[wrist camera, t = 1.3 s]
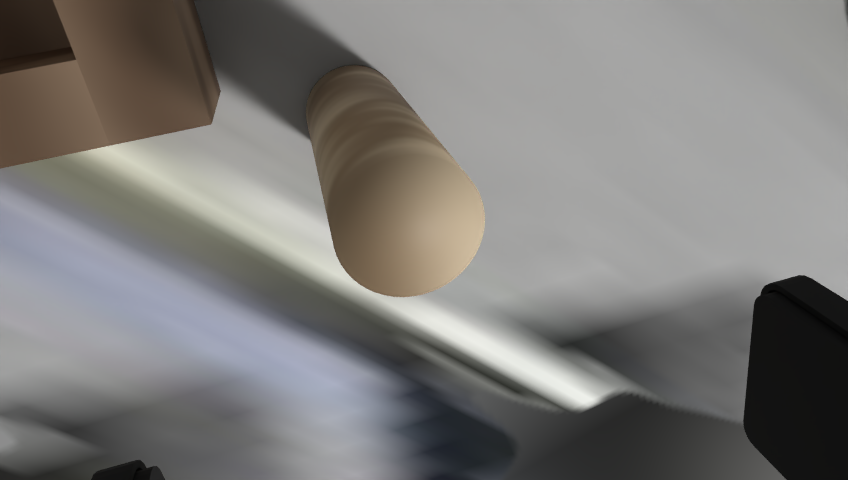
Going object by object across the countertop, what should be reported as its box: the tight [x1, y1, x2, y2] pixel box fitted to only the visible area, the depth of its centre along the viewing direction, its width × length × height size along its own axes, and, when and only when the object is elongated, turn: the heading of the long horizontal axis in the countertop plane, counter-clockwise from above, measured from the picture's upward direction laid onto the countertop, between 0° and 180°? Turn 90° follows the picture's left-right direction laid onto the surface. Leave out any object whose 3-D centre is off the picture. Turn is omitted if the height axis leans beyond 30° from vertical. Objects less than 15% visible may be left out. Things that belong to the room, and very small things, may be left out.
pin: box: [306, 65, 485, 297], centre depth 22 cm, size 4×4×12 cm
